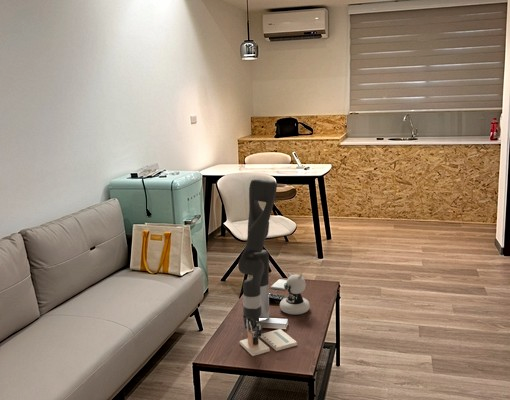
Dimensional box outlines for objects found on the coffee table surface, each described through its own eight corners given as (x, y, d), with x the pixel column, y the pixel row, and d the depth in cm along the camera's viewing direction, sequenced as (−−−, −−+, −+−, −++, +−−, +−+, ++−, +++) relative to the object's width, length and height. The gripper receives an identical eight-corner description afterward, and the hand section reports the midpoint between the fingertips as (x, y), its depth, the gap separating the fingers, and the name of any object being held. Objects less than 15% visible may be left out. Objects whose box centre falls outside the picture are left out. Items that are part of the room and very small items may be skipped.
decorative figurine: (273, 309, 262) (273, 270, 257) (295, 301, 270) (295, 264, 266) (293, 319, 250) (293, 279, 246) (316, 310, 259) (316, 271, 254)
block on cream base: (239, 343, 227) (239, 327, 226) (256, 339, 231) (255, 323, 229) (252, 356, 217) (252, 339, 215) (269, 351, 220) (269, 334, 219)
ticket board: (260, 337, 233) (260, 333, 232) (280, 332, 237) (280, 328, 237) (276, 350, 221) (276, 347, 220) (296, 345, 225) (296, 341, 225)
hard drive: (284, 288, 284) (292, 280, 295) (270, 286, 288) (278, 278, 299) (284, 291, 285) (292, 283, 296) (270, 289, 288) (278, 281, 299)
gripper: (236, 300, 224) (237, 337, 227) (252, 312, 211) (253, 351, 215) (252, 296, 227) (253, 333, 231) (268, 308, 215) (269, 347, 218)
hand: (253, 341), depth 223 cm, fingers closed on block on cream base, 4 cm apart
